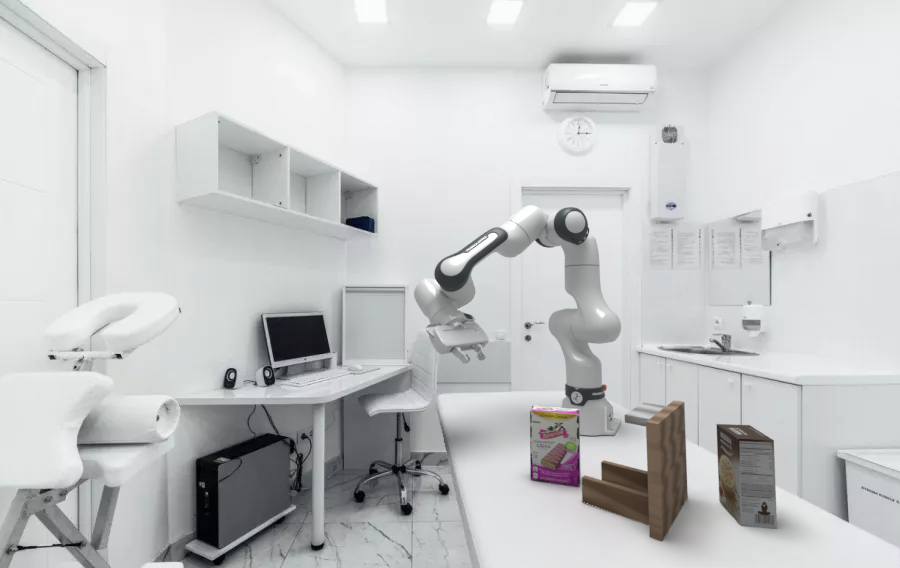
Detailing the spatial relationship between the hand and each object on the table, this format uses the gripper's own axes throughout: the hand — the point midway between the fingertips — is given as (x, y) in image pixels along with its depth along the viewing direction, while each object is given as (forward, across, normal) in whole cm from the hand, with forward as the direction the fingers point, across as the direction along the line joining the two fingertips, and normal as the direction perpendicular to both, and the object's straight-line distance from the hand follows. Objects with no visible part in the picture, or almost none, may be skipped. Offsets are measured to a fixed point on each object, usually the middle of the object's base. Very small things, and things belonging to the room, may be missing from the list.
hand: (475, 360), depth 110 cm
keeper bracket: (+46, 0, -10) cm, 47 cm away
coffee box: (+59, +10, -23) cm, 65 cm away
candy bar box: (+35, 0, +2) cm, 35 cm away
